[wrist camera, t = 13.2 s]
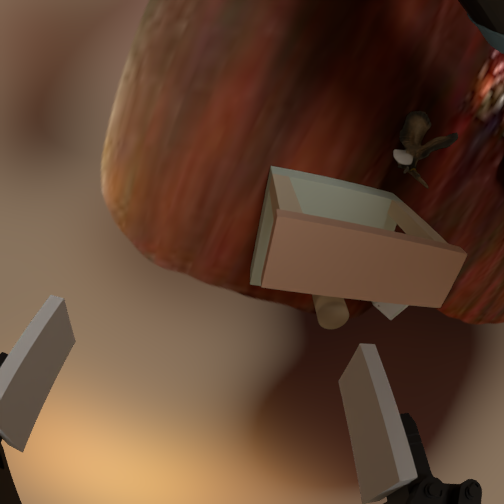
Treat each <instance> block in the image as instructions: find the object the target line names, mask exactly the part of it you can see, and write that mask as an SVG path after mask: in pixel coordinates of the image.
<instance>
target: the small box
mask: <svg viewBox="0 0 504 504" xmlns="http://www.w3.org/2000/svg"><path fill="white" fill-rule="evenodd" d="M372 303H373V305H374V306H375V307H376V308H377V309H378V310H380V311H381V312H382V313H383V314H384V315H386V317H387V318H389V319H390V320H392V319H393V318H394V317H395V316H397V315H398V314H399V313H400V312H401V311H403V310H404V309H405V308H406V307H408V306H409V305H403V304H393V303H383V302H374V301H372Z"/></svg>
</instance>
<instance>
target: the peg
mask: <svg viewBox="0 0 504 504" xmlns="http://www.w3.org/2000/svg"><path fill="white" fill-rule="evenodd" d="M312 297H313V301H314V306H315V310H316V314H317V318H318V322H319V324H320V326H322V327H323V328H325V329H336V328H339V327H341V326H342V325H344V324H345V323H346V322H347V320H348V318H349V312H348V309H347V306H346V303H345V301H344V298H339V297H331V296H323V295H315V294H312Z"/></svg>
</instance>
